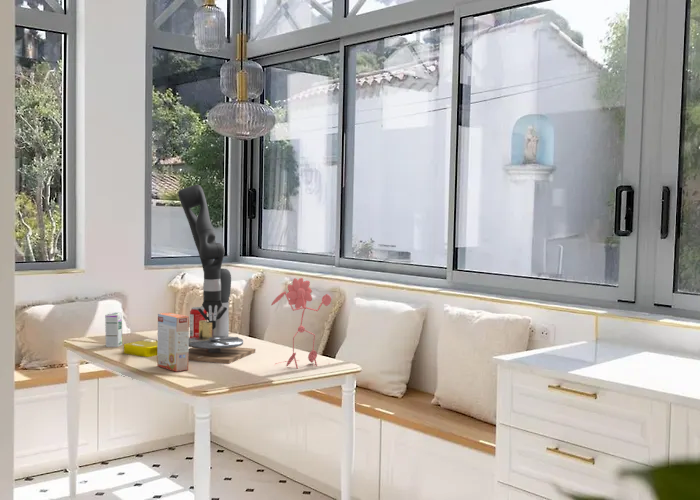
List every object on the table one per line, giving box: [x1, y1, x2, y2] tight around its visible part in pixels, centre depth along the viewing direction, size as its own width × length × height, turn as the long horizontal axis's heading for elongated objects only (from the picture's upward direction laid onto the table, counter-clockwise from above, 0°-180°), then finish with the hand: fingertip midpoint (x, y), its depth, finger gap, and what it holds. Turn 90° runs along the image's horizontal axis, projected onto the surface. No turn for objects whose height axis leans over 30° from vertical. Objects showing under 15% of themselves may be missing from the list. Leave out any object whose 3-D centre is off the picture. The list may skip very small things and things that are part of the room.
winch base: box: [188, 346, 256, 364], centre depth 324 cm, size 27×26×5 cm
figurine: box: [270, 277, 332, 369], centre depth 309 cm, size 15×26×35 cm, turn 127°
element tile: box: [123, 338, 158, 358], centre depth 327 cm, size 15×15×5 cm
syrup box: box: [104, 312, 123, 348], centre depth 340 cm, size 6×6×14 cm
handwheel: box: [189, 320, 244, 349], centre depth 324 cm, size 24×24×8 cm
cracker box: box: [156, 312, 190, 373], centre depth 297 cm, size 14×6×21 cm, turn 43°
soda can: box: [189, 306, 208, 339], centre depth 360 cm, size 8×8×15 cm
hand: (212, 329), depth 333 cm, fingers closed
